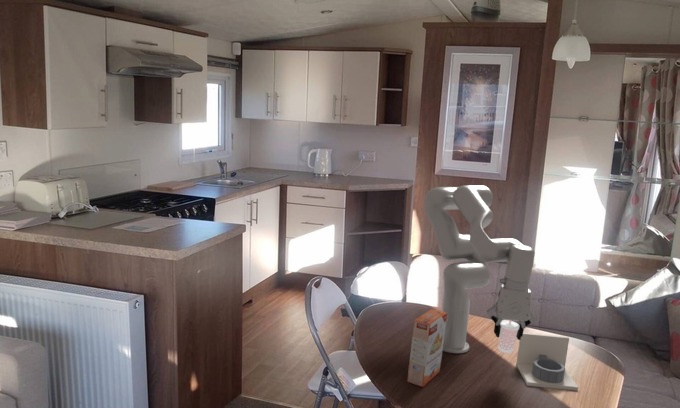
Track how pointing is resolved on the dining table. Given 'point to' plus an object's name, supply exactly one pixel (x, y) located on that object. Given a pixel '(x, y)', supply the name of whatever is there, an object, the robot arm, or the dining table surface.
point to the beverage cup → (507, 336)
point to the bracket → (544, 361)
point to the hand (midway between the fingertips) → (507, 336)
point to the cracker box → (426, 347)
